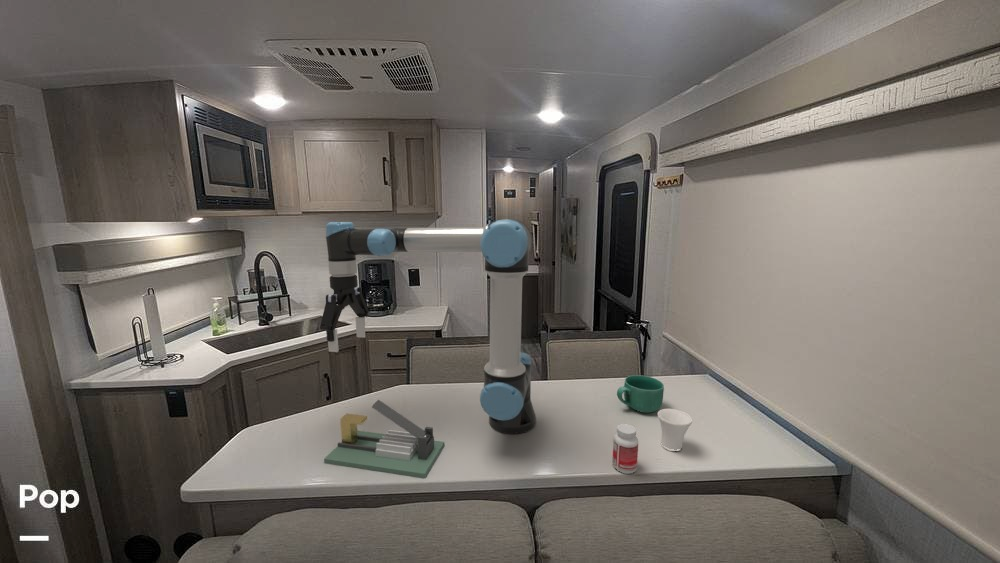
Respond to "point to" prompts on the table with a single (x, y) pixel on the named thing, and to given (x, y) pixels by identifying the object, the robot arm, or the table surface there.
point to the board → (381, 461)
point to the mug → (642, 393)
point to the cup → (673, 427)
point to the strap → (400, 420)
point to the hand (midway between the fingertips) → (348, 343)
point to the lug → (351, 427)
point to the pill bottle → (625, 449)
